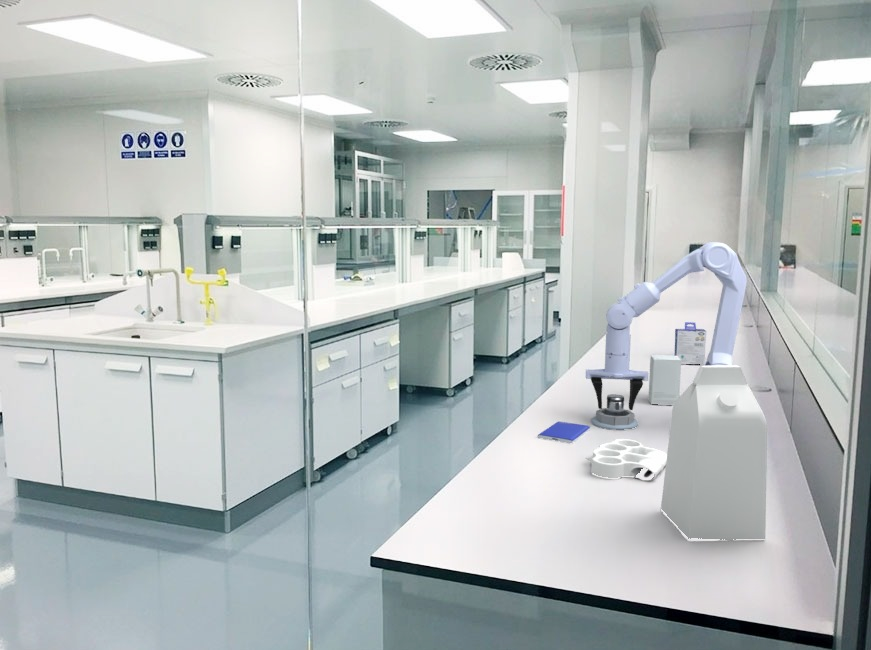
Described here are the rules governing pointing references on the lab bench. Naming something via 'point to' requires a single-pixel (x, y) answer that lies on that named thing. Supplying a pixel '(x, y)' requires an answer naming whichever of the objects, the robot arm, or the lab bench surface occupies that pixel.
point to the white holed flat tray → (626, 459)
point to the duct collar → (614, 420)
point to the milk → (717, 458)
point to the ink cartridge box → (690, 344)
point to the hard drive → (564, 432)
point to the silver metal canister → (615, 405)
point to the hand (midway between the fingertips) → (615, 408)
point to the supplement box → (664, 379)
